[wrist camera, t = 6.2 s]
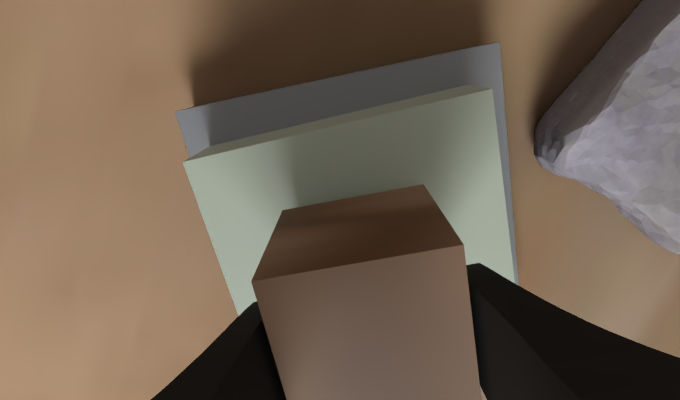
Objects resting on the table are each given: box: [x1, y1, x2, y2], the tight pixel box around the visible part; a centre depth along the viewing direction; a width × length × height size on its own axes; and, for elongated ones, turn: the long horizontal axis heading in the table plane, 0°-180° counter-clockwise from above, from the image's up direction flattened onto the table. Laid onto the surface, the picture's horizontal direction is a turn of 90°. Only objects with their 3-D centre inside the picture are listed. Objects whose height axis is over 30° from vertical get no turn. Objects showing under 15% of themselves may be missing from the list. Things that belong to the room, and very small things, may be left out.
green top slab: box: [183, 85, 515, 316], centre depth 14 cm, size 9×9×2 cm
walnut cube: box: [251, 184, 482, 400], centre depth 10 cm, size 4×4×4 cm
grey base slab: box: [175, 42, 519, 286], centre depth 16 cm, size 11×11×2 cm
